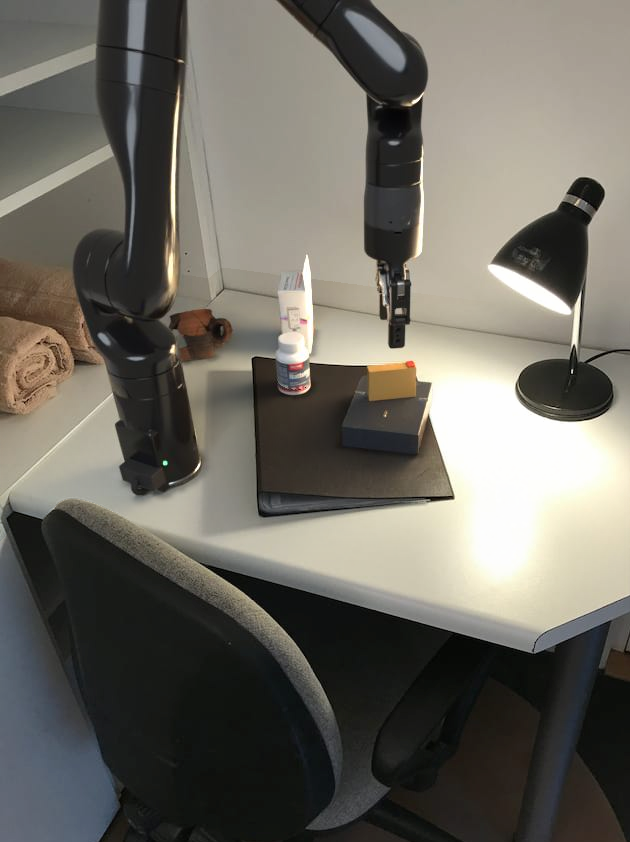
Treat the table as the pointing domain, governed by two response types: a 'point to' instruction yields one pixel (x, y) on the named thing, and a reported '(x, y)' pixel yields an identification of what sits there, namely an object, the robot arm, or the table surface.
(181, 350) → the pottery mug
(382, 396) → the tap lever
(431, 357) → the table surface
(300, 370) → the pill bottle
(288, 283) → the ink cartridge box
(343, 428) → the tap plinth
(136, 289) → the robot arm
